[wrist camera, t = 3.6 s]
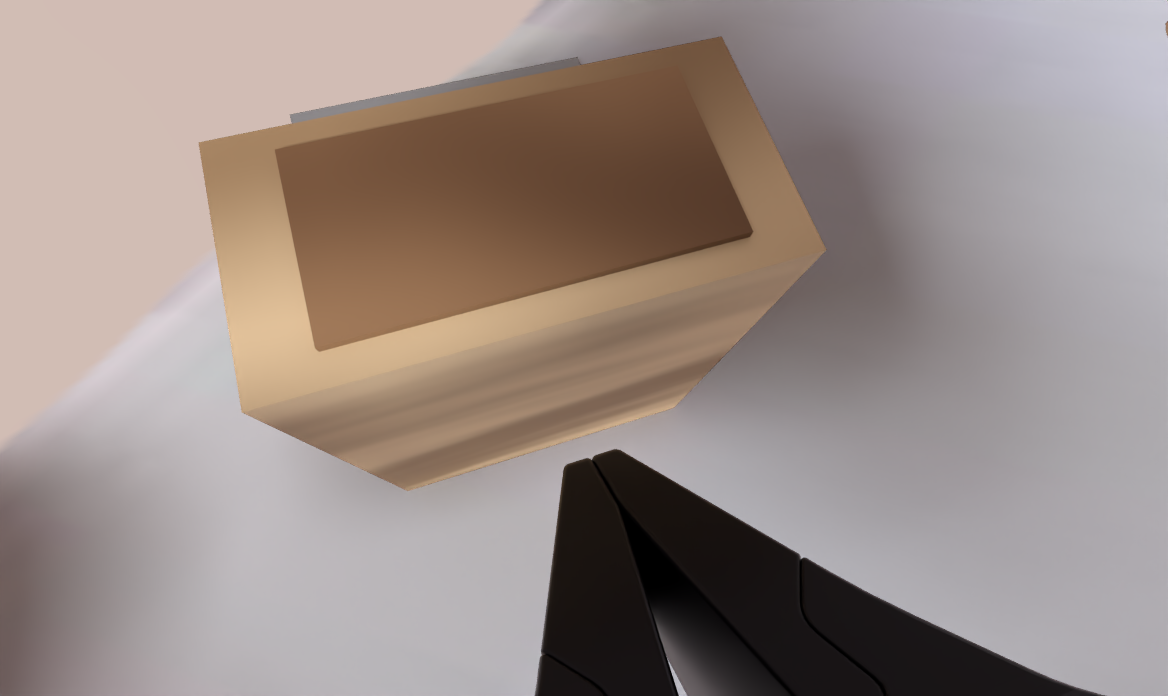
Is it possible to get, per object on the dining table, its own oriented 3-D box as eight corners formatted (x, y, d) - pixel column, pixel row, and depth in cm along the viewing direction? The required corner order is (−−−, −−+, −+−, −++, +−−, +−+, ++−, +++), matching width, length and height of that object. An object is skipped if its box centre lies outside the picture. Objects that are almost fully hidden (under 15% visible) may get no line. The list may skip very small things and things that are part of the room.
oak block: (674, 408, 18) (831, 244, 8) (408, 491, 17) (235, 409, 7) (629, 290, 19) (724, 29, 10) (377, 359, 18) (192, 135, 8)
